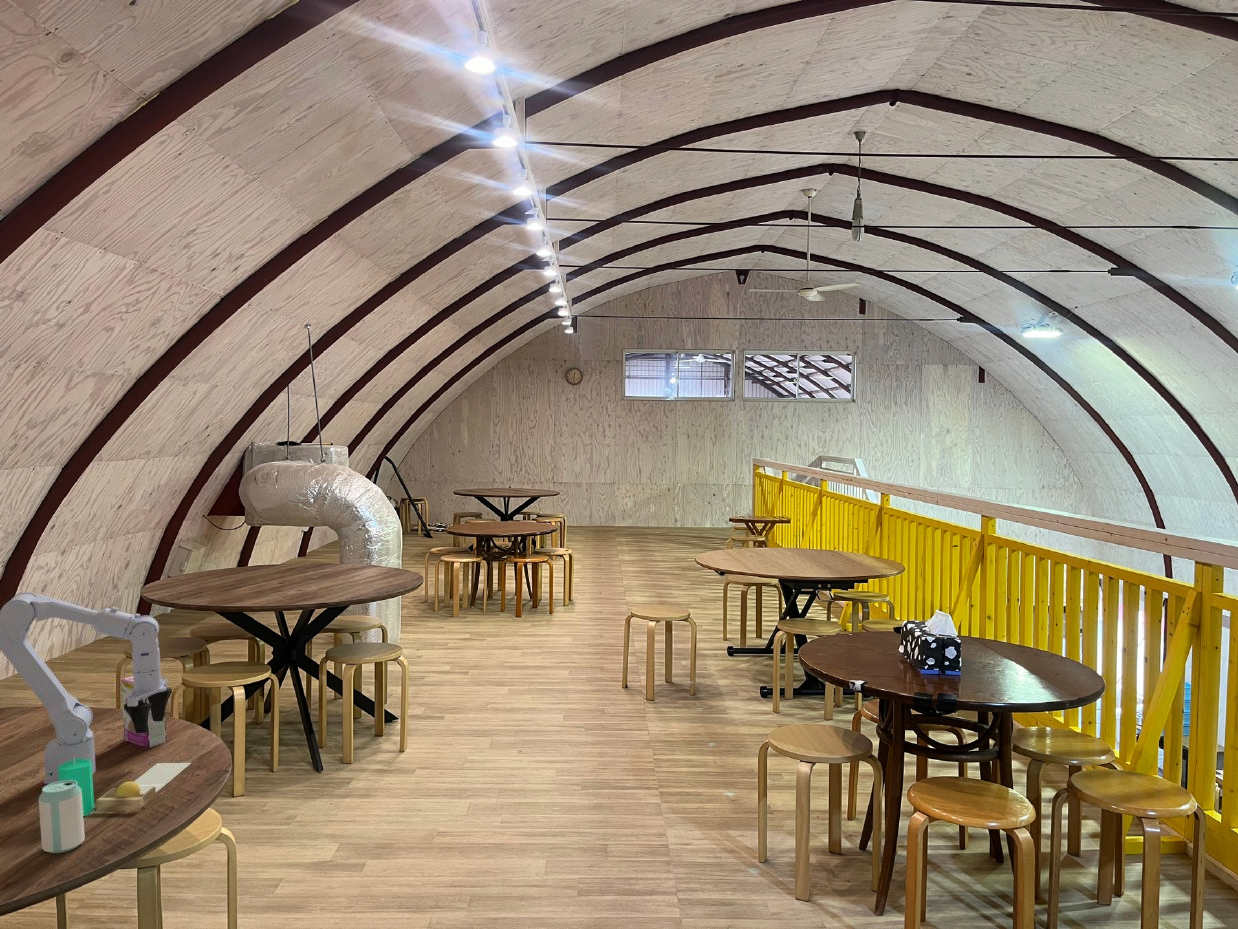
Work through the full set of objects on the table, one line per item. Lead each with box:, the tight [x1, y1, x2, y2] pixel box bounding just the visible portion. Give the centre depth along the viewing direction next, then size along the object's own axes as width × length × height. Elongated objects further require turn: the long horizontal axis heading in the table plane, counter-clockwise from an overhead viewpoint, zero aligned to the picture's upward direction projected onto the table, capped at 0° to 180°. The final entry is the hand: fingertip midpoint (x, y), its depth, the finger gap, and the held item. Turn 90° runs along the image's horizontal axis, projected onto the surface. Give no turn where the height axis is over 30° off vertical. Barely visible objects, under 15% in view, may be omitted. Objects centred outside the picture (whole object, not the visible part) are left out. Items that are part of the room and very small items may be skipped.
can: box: [38, 780, 86, 854], centre depth 178 cm, size 7×7×12 cm
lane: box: [133, 762, 192, 795], centre depth 205 cm, size 8×22×1 cm, turn 179°
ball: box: [115, 780, 141, 798], centre depth 196 cm, size 4×4×4 cm
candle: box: [58, 757, 95, 817], centre depth 192 cm, size 6×6×12 cm
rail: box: [95, 787, 157, 812], centre depth 196 cm, size 9×6×2 cm
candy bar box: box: [120, 675, 167, 749], centre depth 231 cm, size 11×5×16 cm, turn 58°
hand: (150, 726), depth 216 cm, fingers open, 7 cm apart
